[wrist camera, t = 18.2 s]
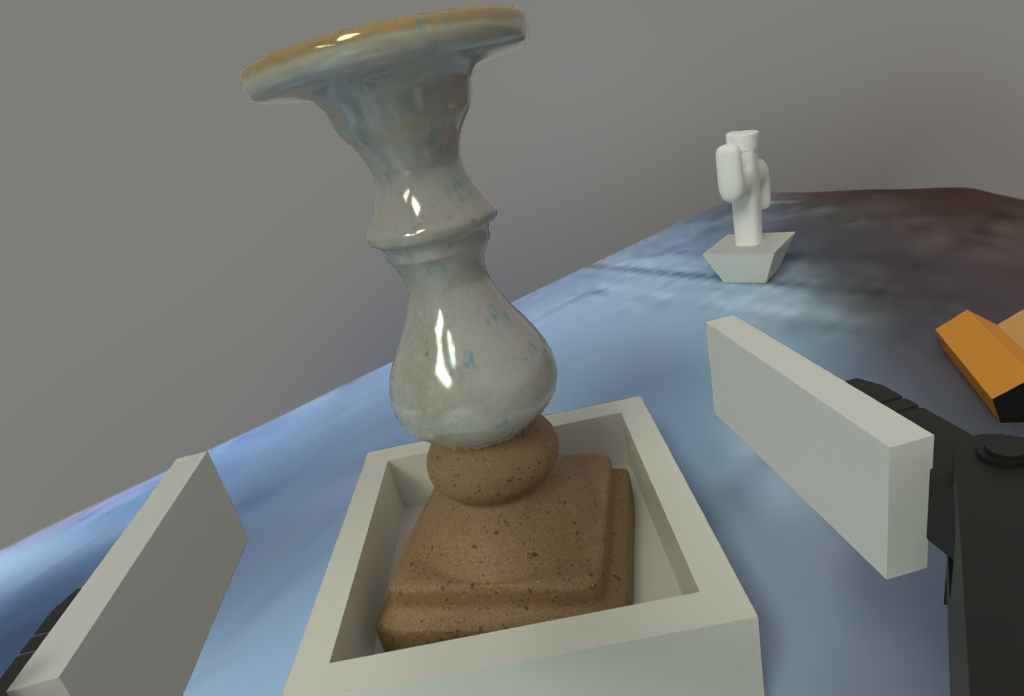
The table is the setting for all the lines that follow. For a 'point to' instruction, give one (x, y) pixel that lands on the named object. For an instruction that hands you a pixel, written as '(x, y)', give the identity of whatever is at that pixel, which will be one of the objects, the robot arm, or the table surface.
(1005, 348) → the pan flute
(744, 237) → the figurine
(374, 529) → the rimmed tray
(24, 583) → the table surface
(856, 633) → the table surface
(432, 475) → the candle holder
